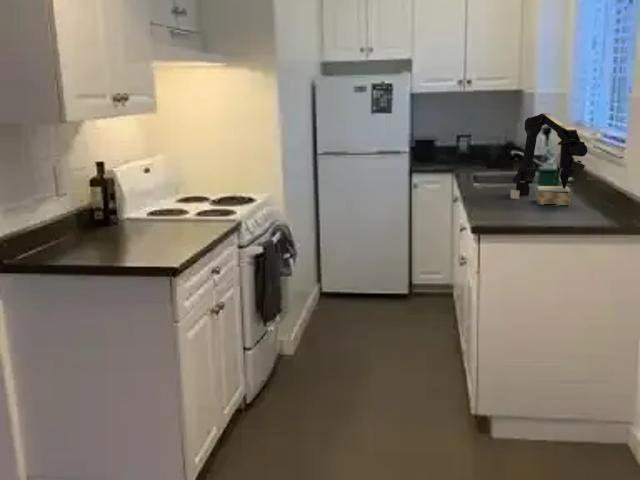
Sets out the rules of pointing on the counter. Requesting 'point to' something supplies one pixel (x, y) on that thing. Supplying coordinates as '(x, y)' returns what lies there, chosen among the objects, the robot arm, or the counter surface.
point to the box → (552, 197)
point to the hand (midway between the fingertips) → (564, 188)
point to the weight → (514, 194)
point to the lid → (553, 188)
